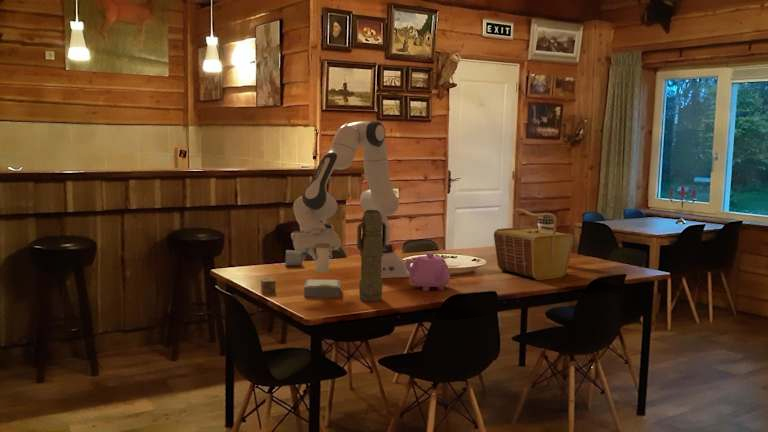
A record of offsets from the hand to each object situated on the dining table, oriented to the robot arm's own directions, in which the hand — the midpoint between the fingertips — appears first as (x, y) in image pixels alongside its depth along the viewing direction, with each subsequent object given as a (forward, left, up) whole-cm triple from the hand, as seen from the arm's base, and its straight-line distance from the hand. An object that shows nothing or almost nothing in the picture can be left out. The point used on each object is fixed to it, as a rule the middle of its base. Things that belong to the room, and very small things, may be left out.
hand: (323, 258), depth 289 cm
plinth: (0, -1, -14) cm, 15 cm away
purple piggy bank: (-44, -11, -15) cm, 47 cm away
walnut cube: (+22, -3, -15) cm, 27 cm away
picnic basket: (-97, -45, -15) cm, 108 cm away
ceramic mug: (+16, -61, -15) cm, 65 cm away
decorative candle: (-111, -74, -15) cm, 134 cm away
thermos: (-19, +9, -15) cm, 26 cm away
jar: (0, -1, -5) cm, 5 cm away
